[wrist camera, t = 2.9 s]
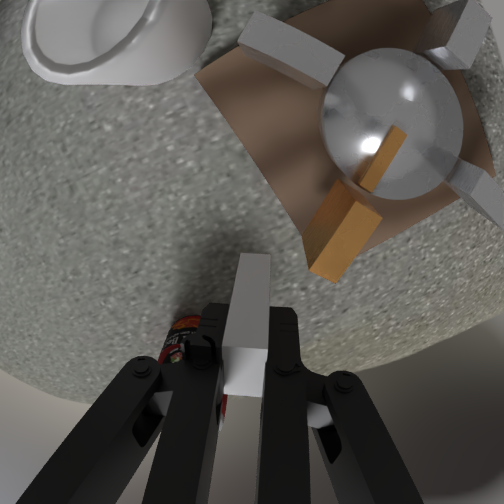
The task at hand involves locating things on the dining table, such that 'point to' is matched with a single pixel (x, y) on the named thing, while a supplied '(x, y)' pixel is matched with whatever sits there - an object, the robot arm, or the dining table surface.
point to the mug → (114, 39)
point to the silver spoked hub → (382, 123)
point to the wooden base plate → (306, 112)
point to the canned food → (173, 348)
